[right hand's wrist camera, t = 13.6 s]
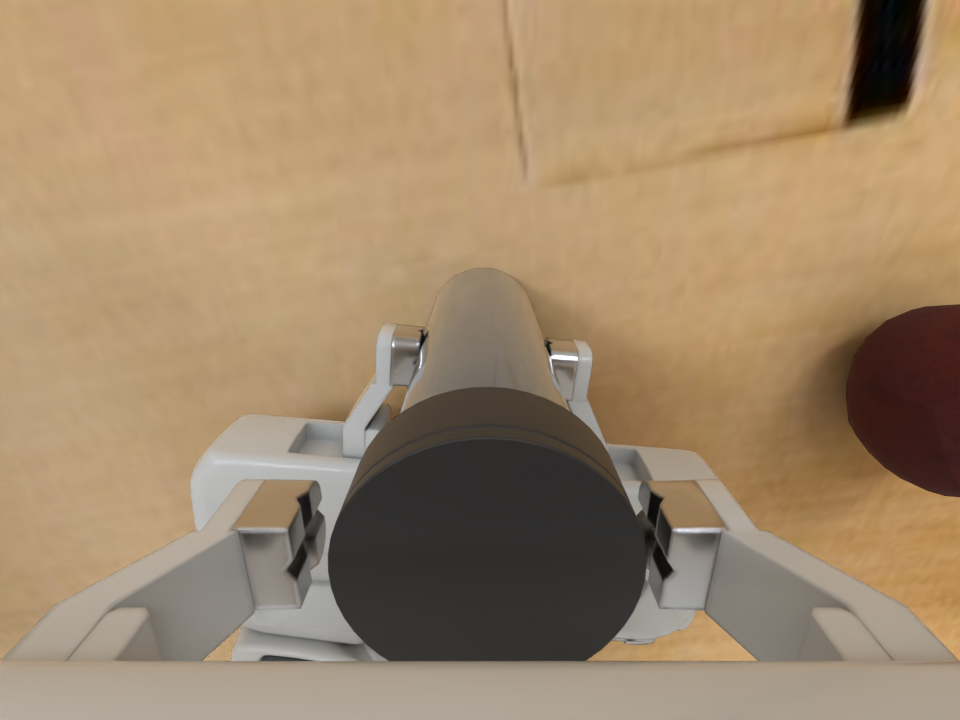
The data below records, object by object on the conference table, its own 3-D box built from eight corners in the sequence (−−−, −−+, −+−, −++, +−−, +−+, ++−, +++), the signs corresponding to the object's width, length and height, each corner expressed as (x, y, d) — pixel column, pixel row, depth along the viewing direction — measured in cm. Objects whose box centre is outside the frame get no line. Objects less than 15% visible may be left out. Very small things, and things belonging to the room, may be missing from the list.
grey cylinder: (413, 324, 23) (310, 571, 9) (475, 246, 22) (467, 397, 8) (489, 381, 24) (501, 683, 10) (553, 310, 23) (667, 544, 9)
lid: (302, 520, 11) (265, 594, 9) (466, 328, 9) (462, 369, 7) (501, 640, 12) (505, 727, 10) (673, 490, 10) (714, 560, 9)
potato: (847, 462, 26) (973, 566, 19) (780, 347, 23) (896, 420, 17) (996, 381, 24) (1189, 464, 18) (938, 249, 22) (1135, 287, 15)
